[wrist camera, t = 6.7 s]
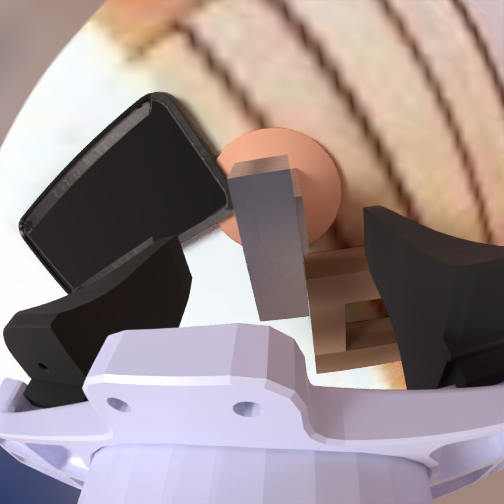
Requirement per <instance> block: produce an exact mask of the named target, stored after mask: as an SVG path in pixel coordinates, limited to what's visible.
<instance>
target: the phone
mask: <svg viewBox="0 0 504 504" xmlns="http://www.w3.org/2000/svg"><path fill="white" fill-rule="evenodd" d="M216 160H217V159H216V157H215V156H214V154H213V153H212V151H211V150H210V148H209V147H208V145H207V144H206V142H205V141H204V140H203V138H202V137H201V135H200V134H199V132H198V131H197V129H196V128H195V126H194V125H193V124H192V122H191V121H190V119H189V118H188V116H187V115H186V113H185V112H184V111H183V109H182V108H181V106H180V105H179V103H178V102H177V100H176V99H175V98H174V97H173V96H172V95H170V94H168V93H165V92H154V93H149V94H147V95H145V96H143V97H141V98H140V99H139V100H138V101H136V102H135V103H134V104H133V105H132V106H130V107H129V108H128V109H127V110H126V111H124V112H123V113H122V114H121V115H120V116H119V117H117V118H116V119H115V120H114V121H113V122H112V123H111V124H110V125H108V126H107V127H106V128H105V129H104V130H103V131H102V132H101V133H100V134H99V135H97V136H96V137H95V138H94V139H93V140H92V141H91V142H90V143H89V144H88V145H87V146H86V147H85V148H84V149H83V150H82V151H81V152H80V153H79V154H78V155H77V156H76V157H75V158H74V159H73V160H72V161H71V162H70V163H69V164H68V165H67V166H66V167H65V168H64V169H63V170H62V171H61V172H60V174H59V175H58V176H57V177H56V178H55V179H54V180H53V181H52V182H51V183H50V185H49V186H48V187H47V188H46V189H45V190H44V191H43V192H42V194H41V195H40V196H39V197H38V198H37V199H36V201H35V202H34V203H33V204H32V205H31V207H30V208H29V209H28V210H27V212H26V213H25V214H24V215H23V217H22V218H21V219H20V221H19V231H20V234H21V236H22V238H23V239H24V241H25V242H26V243H27V245H28V246H29V247H30V249H31V250H32V251H33V253H34V254H35V255H36V256H37V258H38V259H39V260H40V262H41V263H42V264H43V265H44V267H45V268H46V269H47V270H48V271H49V273H50V274H51V275H52V276H53V277H54V279H55V280H56V281H57V282H58V283H59V285H60V286H61V287H62V288H63V289H64V290H65V292H66V293H67V294H68V295H69V294H71V293H73V292H76V291H78V290H80V289H82V288H84V287H86V286H88V285H90V284H92V283H93V282H95V281H97V280H99V279H101V278H102V277H104V276H106V275H107V274H109V273H110V272H112V271H113V270H115V269H116V268H118V267H119V266H121V265H122V264H124V263H125V262H127V261H128V260H130V259H131V258H132V257H134V256H135V255H137V254H138V253H139V252H141V251H142V250H144V249H145V248H147V247H148V246H150V245H151V244H153V243H154V242H156V241H158V240H159V239H162V238H164V237H170V236H176V235H178V238H179V241H180V243H182V242H184V241H185V240H187V239H189V238H191V237H192V236H194V235H196V234H198V233H199V232H201V231H203V230H205V229H206V228H208V227H210V226H212V225H213V224H215V223H217V222H219V221H221V220H222V219H224V218H226V217H227V216H228V215H230V214H231V212H232V211H233V209H234V208H233V204H232V199H231V195H230V191H229V186H228V182H227V178H226V176H225V175H224V173H223V172H222V170H221V169H220V167H219V166H218V165H217V163H216V162H215V161H216Z"/></svg>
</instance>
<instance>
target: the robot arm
mask: <svg viewBox="0 0 504 504" xmlns="http://www.w3.org/2000/svg"><path fill="white" fill-rule="evenodd" d="M363 211H364V232H365V256H366V260H367V263H368V266H369V270H370V273H371V276H372V278H373V281H374V283H375V285H376V287H377V290H378V292H379V294H380V296H381V299H382V301H383V303H384V305H385V308H386V310H387V312H388V315H389V317H390V320H391V323H392V326H393V329H394V333H395V336H396V340H397V344H398V348H399V352H400V357H401V361H402V366H403V371H404V376H405V382H406V387H407V390H381V389H353V388H336V387H322V386H313V385H312V384H311V383H310V382H309V379H308V377H307V372H306V364H305V357H304V355H303V353H302V352H301V350H300V348H299V346H298V345H297V343H296V341H295V340H294V339H293V338H291V337H289V336H288V335H286V334H284V333H282V332H280V331H278V330H276V329H274V328H272V327H270V326H263V325H252V324H242V323H234V324H222V325H210V326H196V327H181V328H179V325H180V322H181V319H182V316H183V314H184V311H185V308H186V305H187V302H188V299H189V294H190V289H191V282H192V276H191V273H190V270H189V267H188V265H187V262H186V259H185V256H184V253H183V250H182V247H181V244H180V241H179V238H178V235H176V236H170V237H164V238H162V239H159V240H158V241H156V242H154V243H153V244H151V245H150V246H148V247H147V248H145V249H144V250H142V251H141V252H139V253H138V254H137V255H135V256H134V257H132V258H131V259H130V260H128V261H127V262H125V263H124V264H122V265H121V266H119V267H118V268H116V269H115V270H113V271H112V272H110V273H109V274H107V275H106V276H104V277H102V278H101V279H99V280H97V281H95V282H93V283H92V284H90V285H88V286H86V287H84V288H82V289H80V290H78V291H76V292H73V293H71V294H69V295H67V296H65V297H62V298H60V299H57V300H55V301H52V302H49V303H46V304H43V305H40V306H37V307H33V308H30V309H26V310H23V311H19V312H17V313H16V314H15V315H14V316H13V317H12V319H11V320H10V321H9V323H8V324H7V325H6V326H5V328H4V331H3V336H4V340H5V343H6V345H7V348H8V349H9V351H10V352H11V354H12V355H13V357H14V358H15V359H16V361H17V362H18V363H19V364H20V366H21V367H22V368H23V369H24V371H25V372H26V373H27V374H28V376H29V377H30V378H31V381H30V383H29V384H28V385H27V384H25V383H24V382H22V381H19V380H14V379H10V378H5V379H4V381H3V382H2V384H1V385H0V446H1V447H3V448H4V449H5V450H6V451H7V452H9V453H10V454H11V455H12V456H14V457H15V458H16V459H17V460H19V461H20V462H22V463H24V464H26V465H28V466H30V467H32V468H34V469H36V470H38V471H40V472H42V473H45V474H47V475H49V476H51V477H53V478H56V479H58V480H60V481H62V482H65V483H67V484H69V485H71V486H74V487H76V488H78V489H81V490H82V492H81V495H80V498H79V501H78V504H433V501H432V500H435V499H438V498H440V497H443V496H446V495H448V494H450V493H453V492H455V491H458V490H460V489H462V488H465V487H467V486H470V485H471V484H474V483H476V482H478V481H480V480H482V479H485V478H486V477H488V476H490V475H493V474H495V473H497V472H498V471H500V470H502V469H504V246H496V245H489V244H483V243H477V242H473V241H468V240H464V239H460V238H456V237H453V236H450V235H447V234H444V233H441V232H438V231H435V230H432V229H430V228H428V227H425V226H423V225H421V224H418V223H416V222H414V221H412V220H410V219H408V218H406V217H403V216H401V215H399V214H397V213H395V212H393V211H391V210H389V209H387V208H385V207H382V206H371V207H364V208H363Z"/></svg>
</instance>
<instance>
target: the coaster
mask: <svg viewBox="0 0 504 504" xmlns="http://www.w3.org/2000/svg"><path fill="white" fill-rule="evenodd" d="M281 155H288V158H289V165H290V169H293V168H297V173H298V177H299V182H300V187H301V192H302V198H303V205H304V213H305V220H306V228H307V236H308V245H310V244H312V243H313V242H315V241H316V240H317V239H319V238H320V237H321V236H322V235H323V234H324V233H325V232H326V231H327V230H328V229H329V227H330V226H331V225H332V223H333V221H334V219H335V218H336V215H337V213H338V210H339V206H340V202H341V182H340V177H339V174H338V171H337V168H336V166H335V164H334V162H333V161H332V159H331V158H330V156H329V155H328V153H327V152H326V151H325V150H324V149H323V148H322V147H321V146H320V145H319V144H318V143H317V142H316V141H314V140H313V139H311V138H310V137H308V136H306V135H304V134H302V133H300V132H297V131H294V130H290V129H285V128H262V129H258V130H254V131H251V132H248V133H246V134H244V135H242V136H240V137H238V138H237V139H235V140H234V141H233V142H231V143H230V144H229V145H228V146H227V147H226V148H225V149H224V150H223V151H222V153H221V154H220V155H219V157H218V158H217V160H216V161H215V162H216V163H217V165H218V166H219V167H220V169H221V170H222V172H223V173H224V175H225V176H226V178H227V177H228V175H229V173H230V171H231V169H232V167H233V165H234V163H237V162H243V161H249V160H255V159H261V158H267V157H274V156H281ZM217 223H218V225H219V226H220V228H221V229H222V230H223V231H224V232H225V233H226V234H227V235H228V236H229V237H230V238H231V239H232V240H234V241H235V242H237V243H238V244H240V245H242V242H241V238H240V234H239V229H238V225H237V221H236V217H235V212H234V209H233V211H232V212H231V214H230V215H228V216H227V217H226V218H224V219H222V220H221V221H219V222H217Z"/></svg>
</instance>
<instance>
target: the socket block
mask: <svg viewBox="0 0 504 504" xmlns="http://www.w3.org/2000/svg"><path fill="white" fill-rule="evenodd" d="M303 258H304V267H305V275H306V284H307V291H308V299H309V308H310V316H311V325H312V333H313V343H314V352H315V362H316V372H317V374H319V373H327V372H335V371H342V370H349V369H356V368H362V367H368V366H374V365H379V364H385V363H390V362H395V361H401V357H400V352H399V348H398V344H397V340H396V336H395V333H394V329H393V326H392V323H391V320H390V317H385V318H380V319H374V320H367V321H361V322H355V323H348V324H346V315H345V304H347V303H354V302H361V301H367V300H374V299H380V298H381V296H380V294H379V292H378V290H377V287H376V285H375V283H374V281H373V278H372V276H371V273H370V270H369V266H368V263H367V260H366V256H365V246H361V247H354V248H347V249H340V250H333V251H326V252H318V253H311V254H304V255H303Z"/></svg>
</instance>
